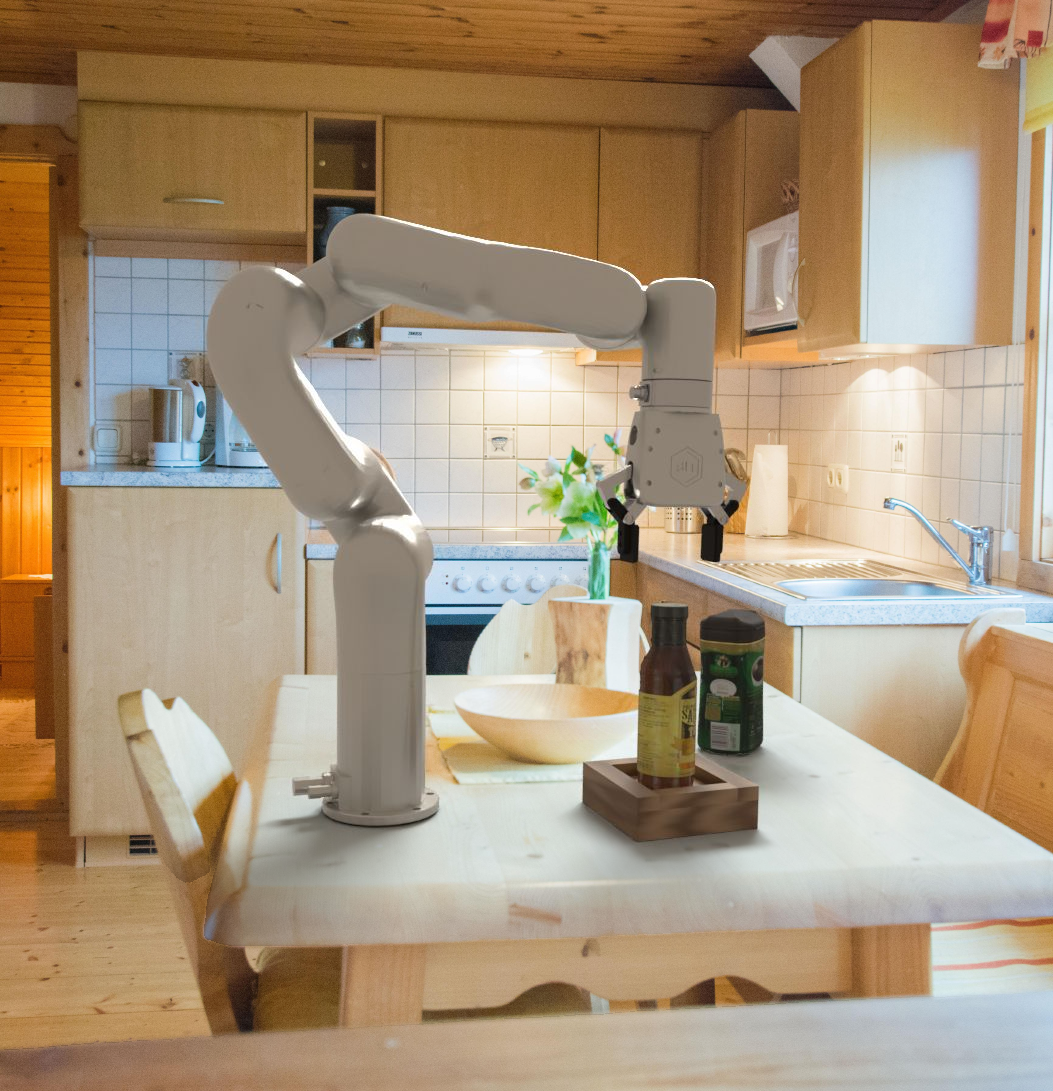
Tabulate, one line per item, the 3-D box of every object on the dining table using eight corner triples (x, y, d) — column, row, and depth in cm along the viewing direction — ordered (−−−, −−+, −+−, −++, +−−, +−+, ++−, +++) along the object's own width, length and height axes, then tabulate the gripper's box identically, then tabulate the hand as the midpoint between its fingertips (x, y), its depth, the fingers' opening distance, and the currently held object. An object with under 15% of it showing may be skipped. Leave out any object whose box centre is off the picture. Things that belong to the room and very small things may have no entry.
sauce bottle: (692, 798, 119) (697, 609, 117) (633, 793, 120) (637, 607, 119) (696, 780, 125) (701, 601, 124) (639, 776, 127) (643, 599, 125)
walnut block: (636, 841, 114) (637, 797, 114) (582, 801, 127) (583, 761, 127) (757, 827, 119) (758, 785, 119) (693, 790, 132) (694, 752, 132)
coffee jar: (713, 736, 158) (717, 603, 156) (769, 744, 154) (773, 608, 153) (688, 751, 149) (691, 611, 148) (746, 760, 146) (750, 616, 144)
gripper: (616, 394, 113) (610, 565, 114) (766, 402, 119) (759, 564, 120) (586, 397, 120) (581, 558, 121) (730, 404, 126) (723, 557, 127)
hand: (669, 561), depth 121 cm, fingers open, 9 cm apart
